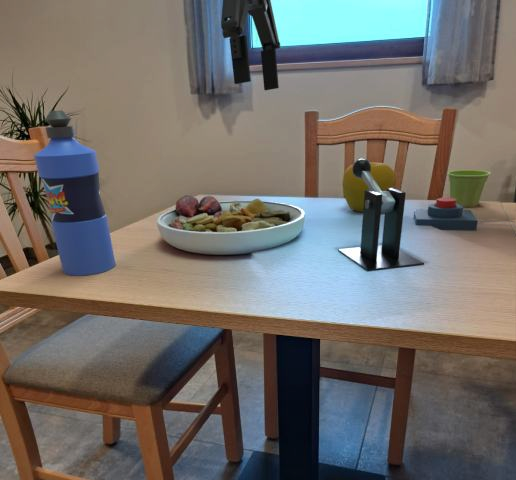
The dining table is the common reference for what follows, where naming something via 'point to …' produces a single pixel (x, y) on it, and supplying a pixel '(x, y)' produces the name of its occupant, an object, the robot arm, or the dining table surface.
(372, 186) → the switch lever
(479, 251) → the dining table surface
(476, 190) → the plant pot
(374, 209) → the stand
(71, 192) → the water bottle
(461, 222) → the button box
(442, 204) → the red button
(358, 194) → the apple
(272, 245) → the bowl
